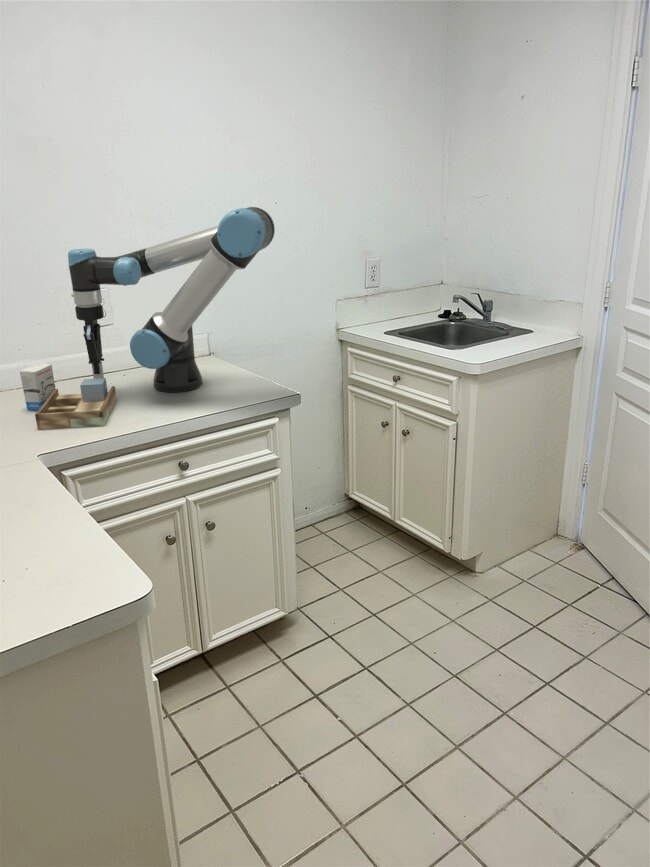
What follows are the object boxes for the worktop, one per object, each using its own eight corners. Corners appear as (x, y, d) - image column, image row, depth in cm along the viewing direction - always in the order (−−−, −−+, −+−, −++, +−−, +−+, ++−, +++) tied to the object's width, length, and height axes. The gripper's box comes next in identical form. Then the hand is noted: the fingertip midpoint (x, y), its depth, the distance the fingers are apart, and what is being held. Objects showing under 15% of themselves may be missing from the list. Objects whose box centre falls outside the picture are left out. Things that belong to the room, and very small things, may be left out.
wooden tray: (116, 399, 192) (114, 386, 190) (104, 425, 172) (102, 410, 170) (57, 402, 190) (54, 389, 188) (37, 429, 169) (34, 414, 168)
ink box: (41, 411, 183) (34, 371, 178) (26, 410, 184) (18, 370, 179) (59, 401, 190) (52, 363, 186) (44, 400, 191) (37, 362, 187)
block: (107, 394, 189) (105, 378, 187) (104, 400, 183) (102, 384, 182) (86, 395, 188) (84, 379, 186) (82, 402, 183) (80, 385, 181)
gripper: (79, 301, 190) (90, 377, 199) (70, 309, 178) (82, 390, 187) (105, 300, 191) (115, 376, 200) (98, 308, 179) (109, 389, 188)
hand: (99, 383), depth 193 cm, fingers closed
